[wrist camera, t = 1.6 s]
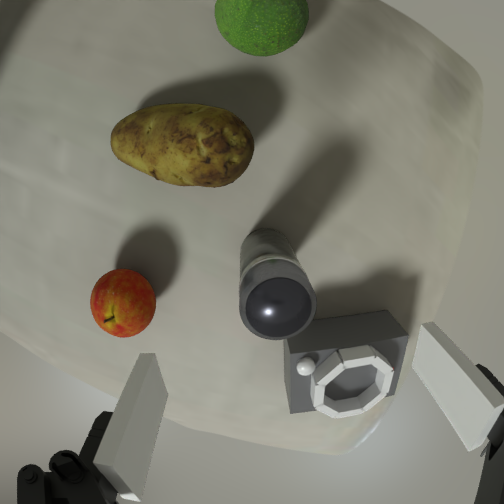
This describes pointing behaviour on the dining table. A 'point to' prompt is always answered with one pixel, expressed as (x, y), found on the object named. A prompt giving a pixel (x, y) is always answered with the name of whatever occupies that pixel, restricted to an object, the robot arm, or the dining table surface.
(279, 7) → the fruit
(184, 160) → the potato
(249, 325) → the lens
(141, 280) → the fruit
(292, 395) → the grey block
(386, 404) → the dining table surface
